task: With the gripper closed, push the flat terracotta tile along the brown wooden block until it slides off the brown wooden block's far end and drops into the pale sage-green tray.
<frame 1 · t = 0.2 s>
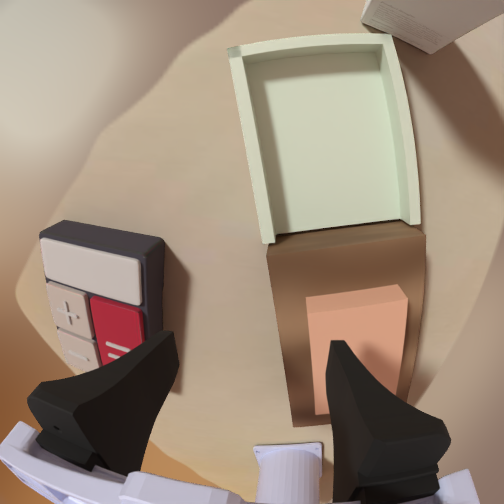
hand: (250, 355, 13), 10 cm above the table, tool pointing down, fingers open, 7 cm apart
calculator: (113, 302, 26), on the table
skincare box: (397, 21, 15), on the table
tray: (327, 138, 19), on the table
tile: (353, 348, 19), point 4 cm above the table, touching brown wooden block
brown wooden block: (345, 323, 23), on the table
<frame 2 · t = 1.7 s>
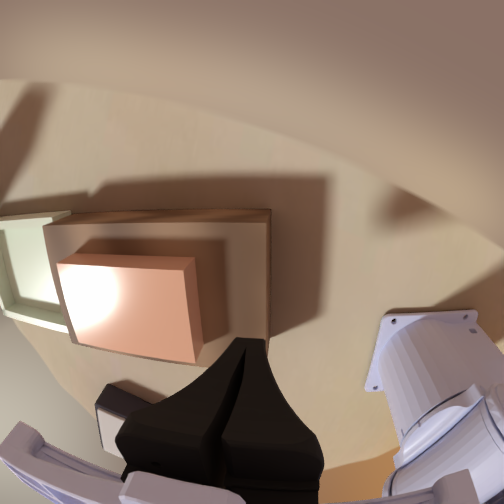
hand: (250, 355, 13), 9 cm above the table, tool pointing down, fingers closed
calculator: (166, 430, 30), on the table
tray: (39, 266, 23), on the table
tile: (134, 298, 18), point 4 cm above the table, touching brown wooden block
brown wooden block: (163, 275, 22), on the table
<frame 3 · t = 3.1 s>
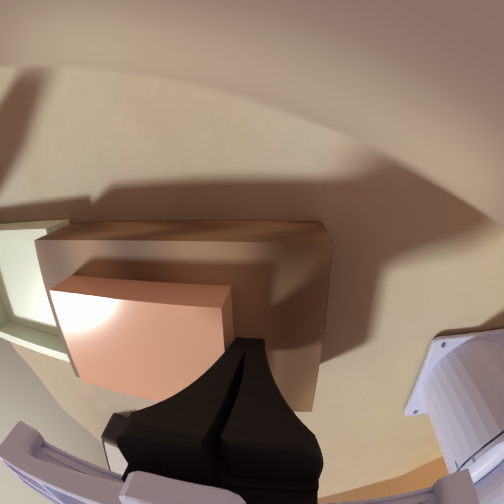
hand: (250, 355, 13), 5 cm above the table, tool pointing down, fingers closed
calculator: (180, 458, 26), on the table
tray: (34, 283, 20), on the table
tile: (149, 332, 14), point 4 cm above the table, touching brown wooden block, gripper
brown wooden block: (185, 299, 18), on the table
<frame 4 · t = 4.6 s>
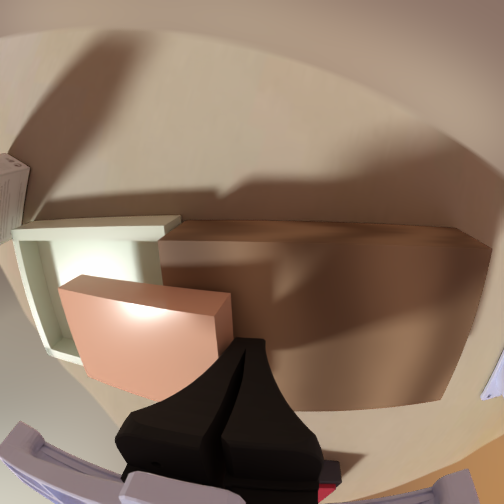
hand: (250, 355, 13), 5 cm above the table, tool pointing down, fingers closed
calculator: (254, 470, 25), on the table
skincare box: (15, 195, 18), on the table
tray: (109, 292, 19), on the table
tile: (153, 334, 15), point 4 cm above the table, tilted 7°, touching brown wooden block
brown wooden block: (325, 304, 17), on the table
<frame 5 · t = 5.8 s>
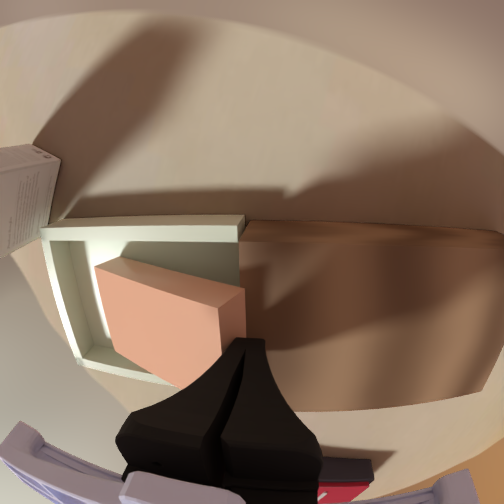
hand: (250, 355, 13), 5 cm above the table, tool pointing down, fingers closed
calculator: (285, 473, 25), on the table
skincare box: (40, 190, 17), on the table
tray: (154, 296, 18), on the table
tile: (176, 319, 16), point 2 cm above the table, tilted 23°, touching brown wooden block, gripper, tray
brown wooden block: (382, 304, 17), on the table
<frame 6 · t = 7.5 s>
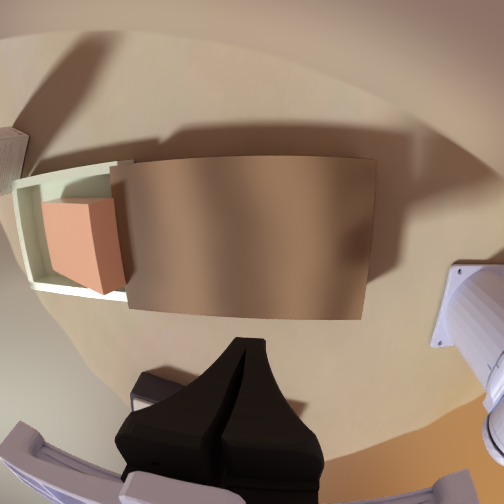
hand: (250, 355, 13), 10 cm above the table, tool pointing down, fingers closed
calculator: (206, 419, 29), on the table
skincare box: (16, 159, 22), on the table
tray: (82, 228, 23), on the table
tile: (87, 236, 20), point 2 cm above the table, tilted 23°, touching brown wooden block, tray
brown wooden block: (244, 226, 21), on the table
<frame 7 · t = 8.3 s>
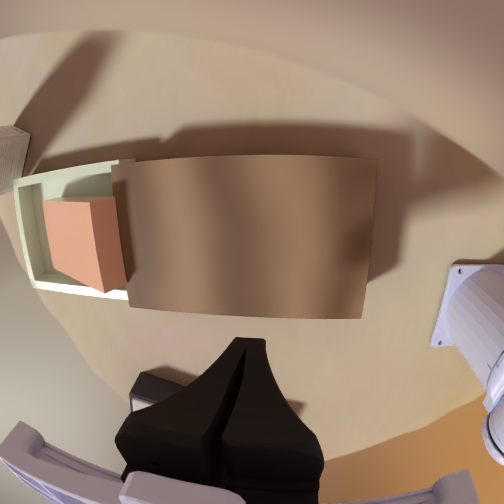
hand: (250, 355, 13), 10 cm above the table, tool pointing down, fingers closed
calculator: (204, 418, 30), on the table
skincare box: (17, 157, 22), on the table
tray: (83, 226, 23), on the table
tile: (88, 234, 20), point 2 cm above the table, tilted 23°, touching brown wooden block, tray
brown wooden block: (245, 225, 21), on the table
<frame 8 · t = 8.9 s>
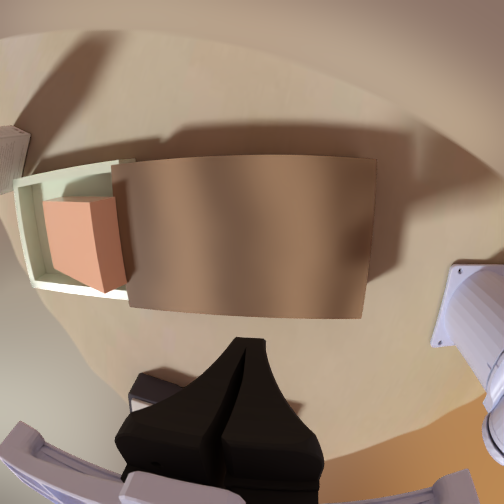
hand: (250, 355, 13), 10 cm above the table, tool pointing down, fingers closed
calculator: (204, 419, 30), on the table
skincare box: (17, 157, 22), on the table
tray: (83, 226, 23), on the table
tile: (88, 234, 20), point 2 cm above the table, tilted 23°, touching brown wooden block, tray
brown wooden block: (245, 225, 21), on the table
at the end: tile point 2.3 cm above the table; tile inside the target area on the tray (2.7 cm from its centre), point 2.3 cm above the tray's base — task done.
